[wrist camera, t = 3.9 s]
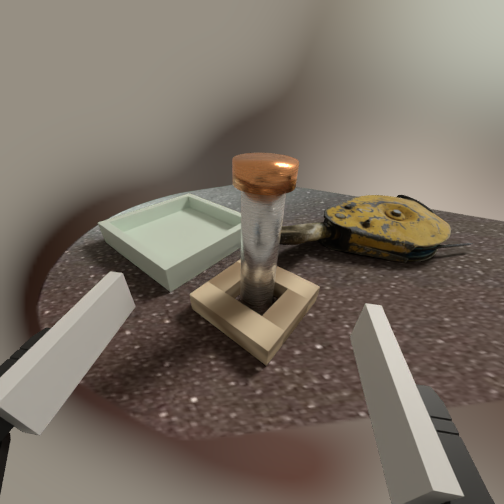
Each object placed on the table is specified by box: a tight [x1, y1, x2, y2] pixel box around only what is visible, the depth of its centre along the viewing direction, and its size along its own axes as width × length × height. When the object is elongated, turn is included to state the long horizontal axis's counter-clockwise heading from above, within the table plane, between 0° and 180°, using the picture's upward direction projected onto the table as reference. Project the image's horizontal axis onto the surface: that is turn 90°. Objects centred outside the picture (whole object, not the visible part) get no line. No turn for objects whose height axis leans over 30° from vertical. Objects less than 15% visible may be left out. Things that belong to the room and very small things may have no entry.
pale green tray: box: [98, 193, 241, 292], centre depth 32 cm, size 15×15×3 cm
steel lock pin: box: [233, 153, 299, 316], centre depth 19 cm, size 4×4×14 cm
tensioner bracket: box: [190, 259, 320, 366], centre depth 22 cm, size 9×9×2 cm
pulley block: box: [280, 195, 473, 263], centre depth 33 cm, size 14×6×30 cm
